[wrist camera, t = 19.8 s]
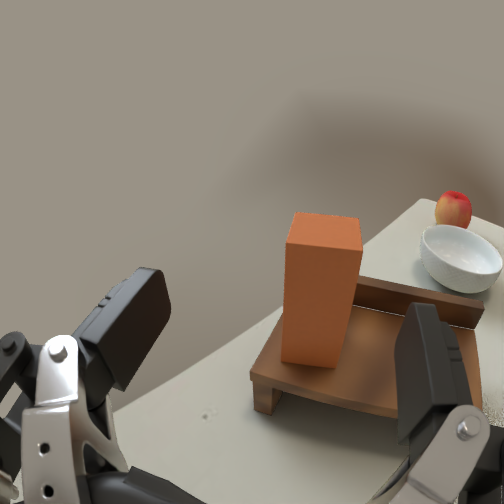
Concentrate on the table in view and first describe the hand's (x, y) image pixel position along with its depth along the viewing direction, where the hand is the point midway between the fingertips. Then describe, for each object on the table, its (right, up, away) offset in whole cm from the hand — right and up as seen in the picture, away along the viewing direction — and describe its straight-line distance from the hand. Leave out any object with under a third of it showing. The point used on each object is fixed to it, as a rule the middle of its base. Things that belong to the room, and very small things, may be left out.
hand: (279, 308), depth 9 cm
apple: (+47, +6, +53) cm, 71 cm away
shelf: (+12, -15, +20) cm, 27 cm away
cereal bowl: (+36, -3, +38) cm, 52 cm away
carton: (+5, -7, +18) cm, 20 cm away
